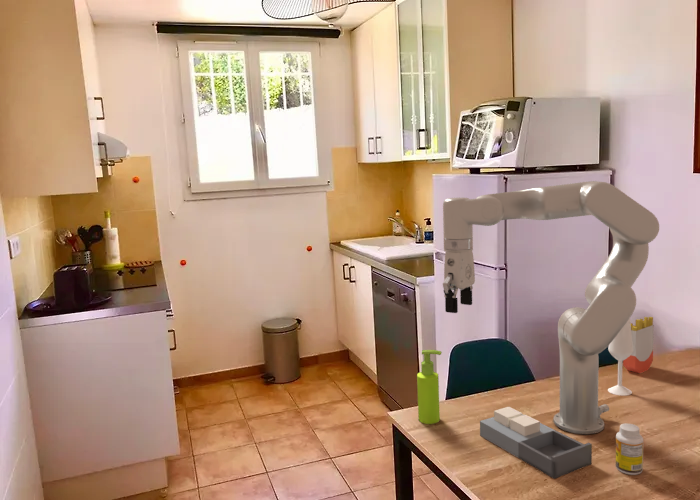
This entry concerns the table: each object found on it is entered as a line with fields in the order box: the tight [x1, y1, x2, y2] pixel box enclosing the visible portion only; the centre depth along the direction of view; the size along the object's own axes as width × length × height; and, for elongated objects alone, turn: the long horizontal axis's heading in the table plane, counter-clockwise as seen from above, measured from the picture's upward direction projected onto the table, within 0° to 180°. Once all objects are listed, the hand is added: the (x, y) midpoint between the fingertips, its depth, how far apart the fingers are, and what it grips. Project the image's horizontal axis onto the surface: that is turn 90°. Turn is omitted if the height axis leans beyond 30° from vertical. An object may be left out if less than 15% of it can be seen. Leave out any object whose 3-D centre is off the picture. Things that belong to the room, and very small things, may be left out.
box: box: [518, 429, 593, 480], centre depth 134 cm, size 12×11×5 cm
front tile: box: [510, 414, 541, 436], centre depth 142 cm, size 5×5×2 cm
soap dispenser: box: [416, 349, 443, 425], centre depth 159 cm, size 6×7×20 cm
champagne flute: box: [607, 317, 633, 396], centre depth 172 cm, size 7×7×24 cm
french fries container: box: [622, 316, 655, 374], centre depth 189 cm, size 5×11×18 cm, turn 124°
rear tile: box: [493, 406, 523, 427], centre depth 148 cm, size 5×5×2 cm
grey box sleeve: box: [479, 413, 555, 459], centre depth 146 cm, size 12×14×4 cm
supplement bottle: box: [615, 422, 644, 476], centre depth 129 cm, size 6×6×10 cm
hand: (459, 308), depth 152 cm, fingers open, 9 cm apart
